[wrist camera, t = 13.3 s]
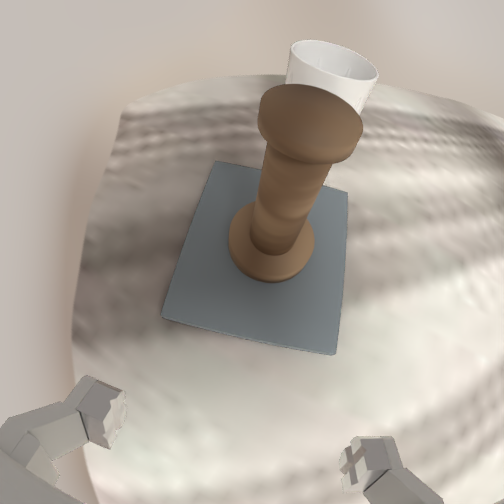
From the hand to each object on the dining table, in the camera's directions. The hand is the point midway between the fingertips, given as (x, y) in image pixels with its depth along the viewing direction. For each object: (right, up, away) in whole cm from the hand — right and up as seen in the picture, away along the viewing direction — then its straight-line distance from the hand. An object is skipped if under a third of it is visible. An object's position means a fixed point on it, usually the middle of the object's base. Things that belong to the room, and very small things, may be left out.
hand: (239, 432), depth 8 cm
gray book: (+2, +6, +14) cm, 15 cm away
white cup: (+7, +18, +21) cm, 28 cm away
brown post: (+2, +7, +13) cm, 15 cm away
